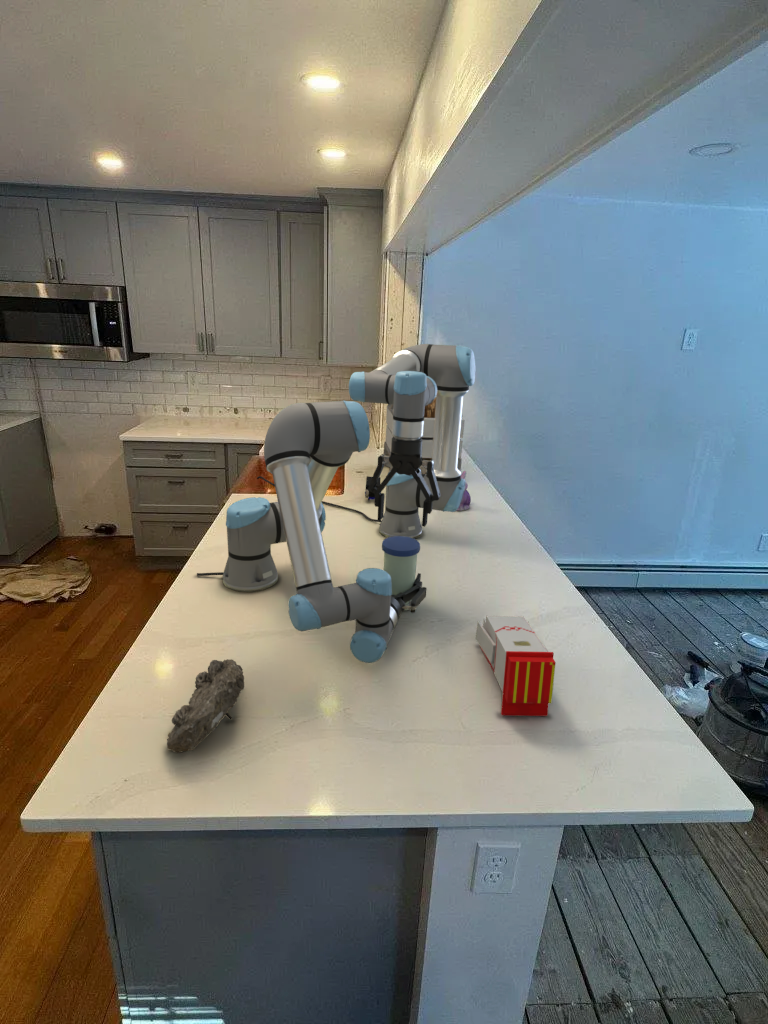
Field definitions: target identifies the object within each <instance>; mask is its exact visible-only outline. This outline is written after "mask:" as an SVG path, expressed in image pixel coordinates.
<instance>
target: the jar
mask: <svg viewBox="0 0 768 1024" xmlns="http://www.w3.org/2000/svg"><path fill="white" fill-rule="evenodd" d="M417 558H418V553H417V554H416V555H413V556H408V557H398V556H392V555H389V554H387V553H385V552H384V551H383V569H382V570H384V571H386V572H387V573H388V574H389V575H390V576H391V583H392V595H397V594H398V593H400V592H401V593H403V592H405V591H407V590H409V589H410V588H412V587H413V585H414V582H415V579H416V576H417V575H416V573H417V571H416V570H417V560H418V559H417ZM408 603H409V601H408V602H407V603H405V604H408ZM408 610H409V609H405V610H404V611H403V612H405V611H408Z"/></svg>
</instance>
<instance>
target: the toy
mask: <svg viewBox="0 0 768 1024" xmlns="http://www.w3.org/2000/svg"><path fill="white" fill-rule="evenodd" d="M476 622H477V623H476V631H475V640H476V642H477V644H478V646H479V648H480V650H481V652H482V653H483V656H484V658H485V659H486V661H487V663H488V664H489V666H490V668H491V670H492V672H493V673H494V677H495V679H496V681H497V683H498V686H499V688H500V690H501V692H502V696H501V697H502V698H501V710H500V715H501V716H514V717H515V716H517V717H518V716H520V717H523V716H524V717H548V712H549V704H552V700H553V692H554V681H555V672H556V664H557V663H556V661H555V659H554V654H555V653H554V651H548V649H547V648H546V646H545V645H544V644H543V642H542V641H541V639H540V638H539V636H538V635H537V634H536V632H535V630H534V629H533V627H532V626H531V624H530V622H529V621H528V620H527V619H526V617H525V616H524V615H523V616H522V615H521V616H520V615H486V616H485V617H483V621H482V623H481V621H476Z"/></svg>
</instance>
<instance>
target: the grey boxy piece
mask: <svg viewBox="0 0 768 1024" xmlns="http://www.w3.org/2000/svg"><path fill="white" fill-rule="evenodd" d="M435 407H436V397H435V399H434V400H433V401H432V402H431V403H430V404H429V405H427V406H425V410H424V426H423V436H422V437H421V439H422V440H423V441H422V459H423V460H428V461H430V460H432V450H433V436H434V422H435ZM385 414H386V415H385V423H386V428H385V438H384V442H383V454H384V455H385V456H390V455H391V443H392V438H393V437H394V436H393V435H392V424H393V405H392V404H386V413H385ZM464 429H465V419H464V418H463V417H461V428H460V440H459V451H458V463H457V468H458V470H459V471H460V472H461V473H462V461H463V460H462V453H463V442H464V441H463V440H462V439H463V438H464V431H465V430H464ZM384 467H388V468H389V472H390V471H391V470H392V468H393V467H392V465H391V463H390V462H389V461H387V463H386V464H385V465H384ZM420 467H424V465H421V466H420Z"/></svg>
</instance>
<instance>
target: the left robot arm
mask: <svg viewBox="0 0 768 1024" xmlns="http://www.w3.org/2000/svg"><path fill="white" fill-rule="evenodd" d="M370 440H371V431H370V423H369V419H368V415H367V413H366V409H364V406H362V405H361V404H360V402H359V401H354V400H352V401H350V400H345V399H344V400H336V401H317V402H295V403H291V404H290V405H287V406H286V407H284V408H282V409H281V410H280V411H279V412H278V413H277V414H276V415H275V416H274V417H273V419H272V421H271V422H270V424H269V426H268V429H267V431H266V434H265V437H264V443H263V444H264V445H263V459H264V463H265V468H266V469H265V470H266V471H267V472H269V473H270V474H271V475H272V479H273V484H275V486H274V489H275V493H276V498H277V501H273V502H272V501H271V502H270V501H269V500H268V499H267V498H265V497H260V496H258V497H255V496H253V497H247V498H242V499H239V500H237V501H235V502H233V503H231V504H230V505H229V506H228V508H227V509H226V517H225V519H226V520H225V526H226V537H227V538H226V539H227V554H228V555H227V560H226V563H225V567H224V570H223V571H222V572H219V571H218V572H217V571H216V572H197V573H196V576H197V577H207V576H222V583H223V585H224V586H225V587H226V588H228V589H229V590H232V591H236V592H242V593H253V592H260V591H264V590H266V589H269V588H271V587H273V586H274V585H276V584H277V582H278V580H279V572H278V569H277V567H276V563H275V561H274V558H273V556H272V551H271V550H272V549H271V547H272V545H275V544H281V543H286V546H287V551H288V556H289V561H290V566H291V571H292V575H293V581H294V585H295V588H296V594H294V595H292V596H290V598H288V603H287V606H288V616H289V620H290V623H291V624H292V626H293V628H294V629H295V630H296V631H298V632H299V631H300V632H307V631H312V630H320V629H322V628H325V627H329V626H332V625H337V624H342V623H345V622H351V621H355V628H354V633H353V634H352V636H351V640H350V643H349V648H350V652H351V654H352V656H353V657H354V658H355V659H357V660H358V661H360V662H362V663H366V664H372V663H373V664H374V663H376V662H377V661H379V660H380V659H381V658H382V657H383V655H384V653H385V652H386V651H387V647H388V644H389V642H390V640H391V637H392V635H393V633H394V631H395V628H396V625H397V623H398V621H399V619H400V617H401V614H402V612H405V611H406V610H405V609H408V610H409V611H410V613H412V614H414V613H415V614H416V611H417V608H418V607H419V606H420V604H421V603H422V602H423V601H424V600H425V599H426V598H427V591H428V589H427V588H428V587H426V586H423V581H422V580H421V578H422V577H421V576H422V573H419V572H418V573H417V575H416V576H415V582H414V585H413V587H412V588H410V589H409V590H407V591H405V592H403V593H401V592H400V593H398V594H397V595H392V583H391V576H390V575H389V574H388V573H387V572H386V571H384V570H383V569H381V568H376V567H367V568H364V569H362V570H360V571H359V572H358V573H357V574H356V579H355V582H353V583H348V584H343V585H338V586H334V585H333V581H332V580H333V579H332V576H331V571H330V565H329V562H328V556H327V552H326V548H325V547H326V546H325V543H324V539H323V534H322V533H323V531H324V530H325V526H326V519H327V517H326V516H327V515H326V514H327V513H326V509H325V506H324V503H322V501H323V499H324V497H325V496H326V494H327V491H328V489H329V487H330V485H331V484H332V481H333V480H334V477H335V475H336V473H337V471H338V469H339V468H340V467H342V466H344V465H346V464H347V463H348V462H349V461H350V459H351V457H352V455H353V453H356V452H358V453H361V452H364V451H366V450H367V449H368V447H369V445H370ZM408 601H409V603H408V604H405V603H407V602H408ZM404 610H405V611H404Z"/></svg>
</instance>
